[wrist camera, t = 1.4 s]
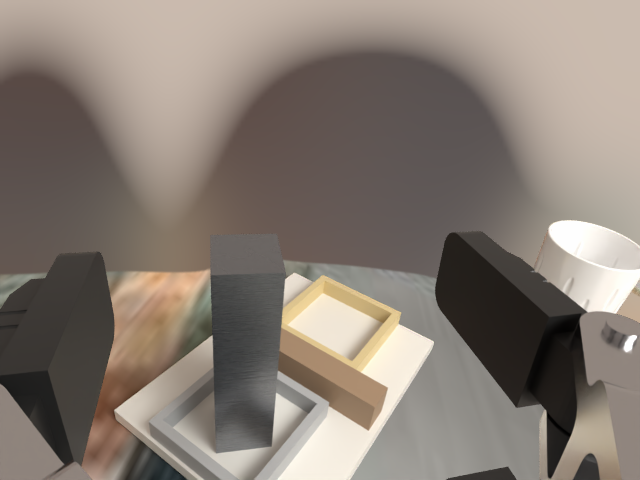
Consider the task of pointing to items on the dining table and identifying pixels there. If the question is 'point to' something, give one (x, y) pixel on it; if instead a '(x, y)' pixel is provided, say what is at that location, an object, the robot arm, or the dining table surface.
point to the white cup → (589, 264)
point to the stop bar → (245, 337)
